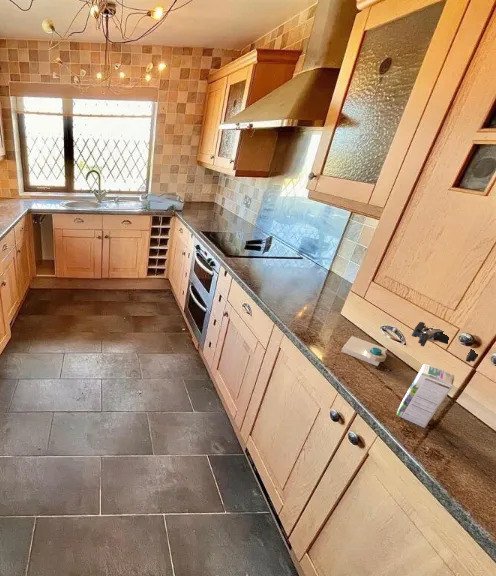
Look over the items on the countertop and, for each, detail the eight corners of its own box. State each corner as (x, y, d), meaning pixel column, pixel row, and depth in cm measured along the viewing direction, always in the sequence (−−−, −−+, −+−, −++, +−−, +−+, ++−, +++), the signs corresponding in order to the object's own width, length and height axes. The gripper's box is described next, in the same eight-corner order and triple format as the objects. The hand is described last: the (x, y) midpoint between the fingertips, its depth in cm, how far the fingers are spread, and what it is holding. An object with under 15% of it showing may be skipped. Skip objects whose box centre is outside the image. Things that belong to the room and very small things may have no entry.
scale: (388, 354, 103) (392, 346, 101) (380, 369, 97) (384, 360, 95) (350, 340, 110) (353, 332, 109) (340, 352, 104) (343, 344, 103)
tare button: (381, 353, 99) (382, 349, 98) (379, 356, 97) (380, 353, 97) (371, 350, 100) (373, 346, 100) (369, 353, 99) (371, 349, 98)
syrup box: (399, 403, 84) (422, 362, 78) (428, 416, 80) (455, 373, 74) (395, 415, 81) (419, 373, 74) (426, 429, 77) (453, 385, 70)
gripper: (483, 349, 85) (478, 376, 76) (415, 327, 95) (403, 349, 86) (497, 326, 82) (494, 352, 73) (425, 306, 92) (415, 327, 83)
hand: (445, 350), depth 79 cm, fingers open, 8 cm apart
